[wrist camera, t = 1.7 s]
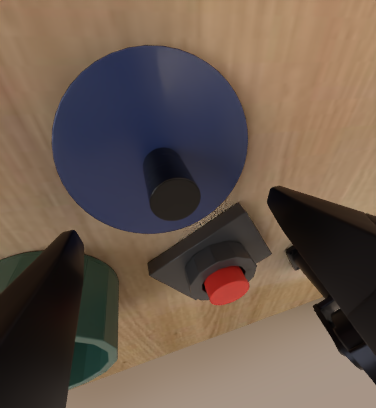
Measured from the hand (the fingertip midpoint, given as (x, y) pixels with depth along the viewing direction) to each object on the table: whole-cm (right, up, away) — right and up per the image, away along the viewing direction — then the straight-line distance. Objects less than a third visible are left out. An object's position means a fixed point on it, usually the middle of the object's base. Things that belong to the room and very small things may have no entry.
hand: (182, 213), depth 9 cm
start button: (+4, -7, +10) cm, 13 cm away
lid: (-1, +3, +4) cm, 5 cm away
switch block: (+3, -5, +13) cm, 14 cm away
